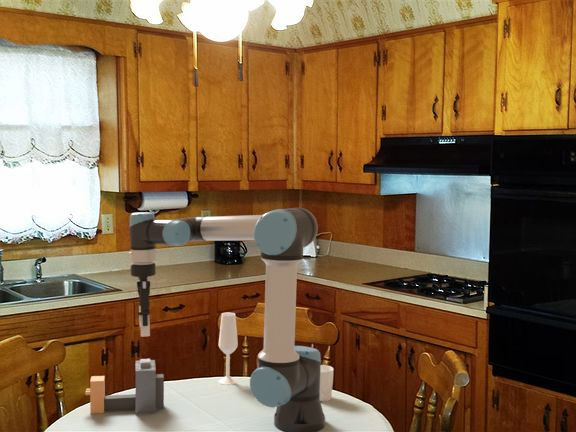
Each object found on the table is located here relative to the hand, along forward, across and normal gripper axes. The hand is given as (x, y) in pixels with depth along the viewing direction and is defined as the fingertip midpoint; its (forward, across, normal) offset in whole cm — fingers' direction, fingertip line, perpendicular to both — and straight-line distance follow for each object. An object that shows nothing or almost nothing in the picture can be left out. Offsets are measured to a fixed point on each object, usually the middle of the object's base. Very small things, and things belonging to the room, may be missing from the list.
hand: (144, 331), depth 223 cm
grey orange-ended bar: (+24, -1, -6) cm, 25 cm away
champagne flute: (+25, -22, +29) cm, 44 cm away
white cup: (+26, 0, +56) cm, 62 cm away
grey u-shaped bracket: (+24, -1, 0) cm, 24 cm away
